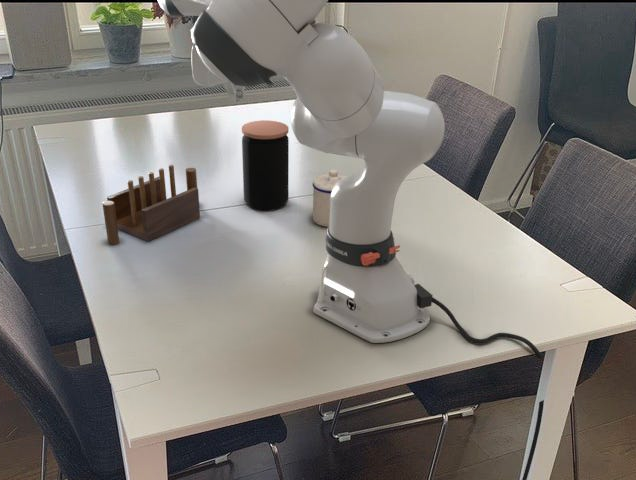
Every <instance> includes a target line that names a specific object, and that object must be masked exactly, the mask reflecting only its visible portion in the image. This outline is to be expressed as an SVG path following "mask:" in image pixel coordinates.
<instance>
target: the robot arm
mask: <svg viewBox="0 0 636 480" xmlns="http://www.w3.org/2000/svg"><path fill="white" fill-rule="evenodd" d="M157 2H158V4H159V7H160V8H161V9H162V10H163V12H164V13H166V14H167V15H168V16H169V17H171V18H183V17H185V18H186V17H197V19H196V21H195V22H194V25H193V27H191V29H190V38H191V40H192V43H193V44H192V47H191V55H190V56H191V73H192V79H193V81H194V83H195V84H196V85H197V86H200V87H204V88H211V87H214V86H218V85H221V84H222V85H223V87H224V89H225V91H226V92H227V101H228V102H231V103H236V102H239V101H242V100H245V91H246V88H249V87H250V88H252V87H256V86H259V85H263V84H265V85H267V86H268V87H273V86H274V85H275V84H274V83H273V82H272V81H271V80H270V78H273V77H276V76H278V75H280V76H282V77H283V78H284V79H285V80H286V81H287V82H288V84H289V85H290V86H291V88H292V90H293V91H294V93H295V95H296V98H295V100H294V102H293V105H292V108H291V113H290V124H291V129H292V132H293V134H294V137H295V138H296V140H297V142H298V143H299V144H301V145H303V146H304V147H305V146H306V147H308V148H310V149H314V150H316V151H319V152H322V153H324V154H330V155H337V156H343V157H350V158H355V159H356V158H357V159H363V160H364V169H362V170H361V171H357V172H354V173H350V174H348V175H346V176H345V177H344V178H342V179H341V180H339V181H338V182H337V183H336V184H335V186H334V187H333V189H332V192H331V195H330V221H329V227H327V229H326V236H325V250H326V252H327V253H326V257H325V261H324V264H323V267H322V269H321V276H320V283H319V290H318V294H317V301H316V302H315V304H314V306H313V313H314V314H315V315H317V316H319V317H321V318H323V319H325V320H327V321H329V322H330V323H332V324H334V325H337V326H338V327H340V328H342V329H344V330H346V331H348V332H350V333H351V334H353V335H355V336H358V337H360V338H361V339H363V340H365V341H366V342H369V343H372V344H383V343H391V342H395V341H398V340H402V339H405V338H408V337H410V336H413V335H416V334H417V333H419V332H421V331H422V330H425V328H426V327H427V326H428V325H429V323H430V322H431V317H430V314H428V312H426V311H425V310H424V308H428V307H432V303H433V304H434V305H436V306H437V307H439V308H440V309H441V310H442V311H444V313H445V314H446V315H447V316H448V317H449V319H450V320H451V322H452V323H453V325H454V327H455V328H456V329H457V330H458V331H459V333H461V335H462V336H463V337H464V338H465V339H466V340H467V341H469V342H471V343H474V344H487V343H489V342H491V341H493V340H495V339H497V338H507V339H512V340H515V341H519V342H522V343H523V344H525V345H527V346H528V348H530V350H531V351H532V352H533V353H534V354H535V356H536V357H537V358H538V359H540V360H543V359H544V357H543V355H542V353H541V352H540V350H539V349H538V348H537V346H535V344H534V343H533V342H531V341H530V340H529V339H527V338H525V337H523V336H521V335H518V334H514V333H510V332H509V333H508V332H497V333H494V334H492V335H490V336H488V337H485V338H476V337H473V336H471V335H470V334H468V332H467V331H466V330H465V329H464V327H463V326H461V324H460V323H459V321H458V320H457V319H456V317H455V315H454V314H453V313H452V312H451V310H450V309H449V308H448V307H447V306H446V305H444V304H443V303H442V302H441V301H439V300H438V299H437V298H434V296H433V294H432V293H430V291H428V290H427V289H426V288H424V286H422V285H421V284H420V283H415V278H414V276H413V275H412V274H408V273H407V272H406V270H405V269H404V267H403V265H402V263H400V261H399V259H398V258H397V253H398V252H401V250H400V249H399V248H401V245H395V239H394V234H393V230H392V221H393V213H394V208H395V202H396V197H397V194H398V191H399V189H400V188H401V185H402V183H403V182H404V181H405V179H406V178H407V177H408V175H410V174H411V173H412V172H413V171H414V170H415V169H417V168H418V167H420V166H422V165H423V164H426V163H428V161H430V160H431V159H432V158H433V157H434V156H435V155H436V154H437V152H438V151H439V150H440V148H441V146H442V143H443V141H444V137H445V133H446V125H445V124H446V123H445V118H444V114H443V113H442V110H441V108H440V106H439V105H438V104H437V103H436V101H432V100H430V99H427V98H424V97H422V96H419V95H416V94H412V93H408V92H399V91H393V90H392V91H391V90H384V85H383V81H382V79H381V76H380V74H379V73H378V71H377V69H376V68H375V66H374V64H373V62H372V61H371V58H370V57H369V55H368V54H367V52H366V50H365V49H364V48H363V47H362V45H361V44H360V42H358V41H357V40H356V39H355V38H354V37H353V36H352V35H351V34H349V32H347V31H346V30H344V29H343V28H342V27H341V26H339V25H337V24H333V23H332V22H331V23H330V22H316V23H313V22H314V21H315V19H317V17H318V15H319V14H320V13H321V11H322V10H323V9H324V8H325V6H326V5H327V3H328V2H329V0H157ZM544 403H545V399H543V400H540V401H539V402H538V410H537V417H536V423H535V428H534V433H533V438H532V442H531V446H530V450H529V453H528V454H529V455H528V457H527V461H526V465H525V468H524V472H523V475H522V479H521V480H528V476H529V473H530V470H531V466H532V462H533V459H534V454H535V451H536V447H537V443H538V439H539V435H540V430H541V425H542V420H543V419H542V418H543V412H544V405H545V404H544Z"/></svg>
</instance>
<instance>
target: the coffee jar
mask: <svg viewBox="0 0 636 480" xmlns="http://www.w3.org/2000/svg"><path fill="white" fill-rule="evenodd" d="M241 133H242V134H243V136H242V138H241V152H242V153H241V154H242V157H241V158H242V177H243V178H242V182H243V200H244V202H245V204H246V205H247V206H248V207H249V208H251V209H254V210H257V211H274V210H279V209H281V208H283V207H285V205H286V204H287V203H288V201H289V163H290V162H289V161H290V160H289V153H290V152H289V150H290V149H289V148H290V147H289V146H290V145H289V144H290V143H289V141H290V140H289V136H288V134H289V126H288V124H287V123H286V124H285V123H284V122H280V121H277V120H267V119H266V120H254V121H253V120H252V121H249V122H247V123H245V124H243V125H242V126H241Z"/></svg>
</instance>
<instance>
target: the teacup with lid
mask: <svg viewBox="0 0 636 480" xmlns="http://www.w3.org/2000/svg"><path fill="white" fill-rule="evenodd" d="M344 177H346V176H345V175H342V174H340V173H339V171H338V169H330V170H329V171H328V173H326V174H323V175H319V176H316V177H315V178H314V179H313V181H312V188H313V190H312V191H313V194H312V195H313V196H312V197H313V200H312V220H313V222H314V223H316V224H317V225H319V226H322V227H324V228H328V227H329V221H330V195H331V192H332V189H333V187H334V186H335V184H336V183H337V182H338V181H339V180H341V179H342V178H344Z"/></svg>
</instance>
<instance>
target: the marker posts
mask: <svg viewBox="0 0 636 480" xmlns="http://www.w3.org/2000/svg"><path fill="white" fill-rule="evenodd" d="M185 182H186V191H187V190H189V189H192V188H194V187H195V188H198V177H197V168H195V167H187V168H185ZM101 204H102V210H103V219H104V224H105V231H106V237H107V244H109V245H111V246H113V245H114V246H115V245H117V244H120V235H119V229H118V227H117V220H116V212H115V205H114V202H113V201H108V200H104V201H103V202H102V203H101Z"/></svg>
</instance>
